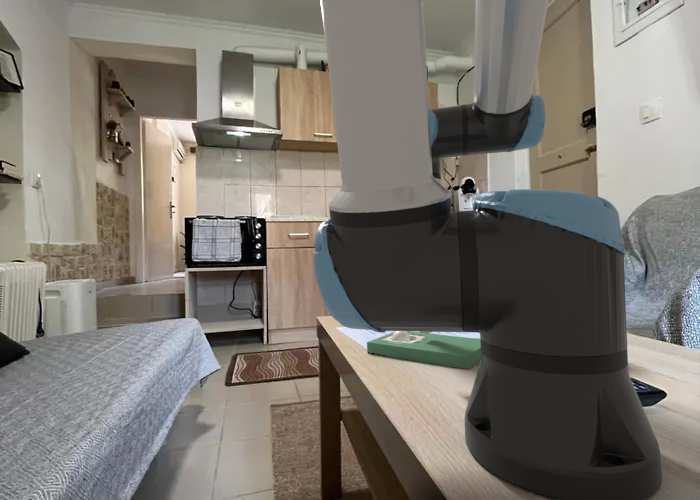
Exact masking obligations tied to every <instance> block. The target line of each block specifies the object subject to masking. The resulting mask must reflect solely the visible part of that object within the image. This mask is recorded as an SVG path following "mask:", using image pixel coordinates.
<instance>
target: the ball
mask: <svg viewBox="0 0 700 500" xmlns="http://www.w3.org/2000/svg"><path fill="white" fill-rule="evenodd" d="M393 332H394V333H393ZM393 332H392V333H393V335H392V340H394V341H410V336H409V334H408V333H407V332H406V331H393Z"/></svg>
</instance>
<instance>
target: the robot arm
mask: <svg viewBox="0 0 700 500" xmlns="http://www.w3.org/2000/svg"><path fill="white" fill-rule="evenodd" d="M319 1H320V7H321V9H320V10H321V16H322V26H323V35H324V41H325V49H326V50H325V51H326V58H327V59H326V60H327V68H328V76H329V83H330V92H331V101H332V109H333V117H334V127H335V135H336V136H335V137H336V143H337V151H338V161H339V170H340V176H341V177H340V178H341V185H340V189H339V190H338V191H337V193H336V194H335V195H334V197H333V198H332V199H331V201H330V202H329V203H328V209H329V217H328V218H327V219H326V220H325V221H324V220H323V222H321V224H319V225H318V228H317V229H316V232H315V234H314V240H313V247H314V250H315V253H314V254H313V268H314V269H313V270H314V275H315V278H316V284H317V287H318V291H319V294H320V297H321V299H322V302H323V305H324V306H325V308H326V310H327V312H328V314H329V315H330V316H331V317H332V318H333V319H334V320H335V321H336V322H338V323H339V324H340V325H341V326H343V327H345V328H349V329H352V330H354V329H355V330H369V331H372V332H374V333H386V332H395V331H411V332H420V333H421V334H429V333H430V334H432V333H435V332H436V333H477V334H478V333H479V339H480V344H481V360H480V361H479V362H480V363H479V365H478V369H477V373H476V375H475V379H474V383H473V386H472V388H471V393H470V395H469V399H468V402H467V404H466V405H467V406H466V409H465V413H464V440H465V445H466V446H467V447H466V448H467V449H468V451H469V453H470V454H471V455H472V456H473V457H474V459H475V460H476V461H477V462H478V463H480V465H481V466H483V467H484V468H486V469H487V470H488V471H490V472H491V473H493V474H495V475H496V476H497V477H500V478H501V479H503V480H505V481H506V482H509V483H511V484H513V485H515V486H517V487H520V488H523V489H525V490H527V491H531V492H533V493H536V494H538V495H542V496H546V497H550V498H553V499H558V500H645V499H648V498H649V497H650V496H652V495H654V494H655V493H656V492H657V491H658V490H659V489H660V487H661V484H662V482H663V481H662V480H663V478H662V477H663V476H662V473H663V472H662V456H661V455H662V454H661V453H662V452H661V450H660V446H659V443H658V440H657V437H656V435H655V434H654V433H655V432H654V430H653V429H652V425H651V423H650V421H649V419H648V416H647V413H646V411H645V409H644V407H643V405H642V402H641V400H640V397H639V395H638V393H637V390H636V388H635V385H634V383H633V381H632V379H631V376H630V372H629V371H630V370H629V356H628V332H627V331H628V329H627V328H628V327H627V308H626V307H627V306H626V284H625V283H626V282H625V281H626V280H625V277H626V275H625V257H626V255H627V250H626V248H625V246H624V244H623V237H622V229H621V221H620V214H619V211H618V209H617V208H616V207H615V205H613V203H611V202H610V201H608V199H606V198H603V197H601V196H598V195H593V194H589V193H584V192H578V191H569V190H559V189H557V190H556V189H554V190H553V189H533V188H532V189H527V188H526V189H524V188H523V189H508V190H507V191H506V190H499V191H497V190H495V191H494V190H492V191H488V192H482V193H480V194H478V195H477V196H475V198H474V202H473V203H472V209H471V210H461V211H460V210H455V211H454V210H452V206H451V205H452V201H451V191H449V190H448V189H447V188H446V187H445V186H444V185H442V175H441V174H442V172H441V168H442V167H441V159H448V158H456V157H457V158H458V157H465V156H475V155H484V154H485V155H486V154H495V153H496V154H497V153H511V152H516V151H519V150H520V151H522V150H526V149H531V148H532V149H533V148H534V147H537V146H538V145H539V144H540V143H541V141H542V139H543V136H544V134H545V133H544V132H545V121H546V105H545V101H544V99H543V97H542V96H541V95H540V94H533V90H534V84H535V79H536V74H537V67H538V63H539V57H540V51H541V48H542V47H541V45H542V41H543V34H544V30H545V23H546V16H547V11H548V7H549V2H550V0H475V20H474V21H475V22H474V23H475V25H474V26H475V27H474V28H475V29H474V31H475V32H474V62H473V63H474V66H473V67H474V68H473V74H474V75H473V102H472V103H467V104H461V105H451V106H447V107H446V106H445V107H439V108H432V109H431V108H430V106H429V105H430V103H429V87H428V86H429V85H428V83H429V82H428V67H427V48H426V31H425V14H424V13H425V10H424V0H319Z"/></svg>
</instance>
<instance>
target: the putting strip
mask: <svg viewBox="0 0 700 500" xmlns="http://www.w3.org/2000/svg"><path fill="white" fill-rule="evenodd" d="M394 332H395V331H392V332H391V333H387V334H385V335H382V336H379V337H377V338H374V339H372V340H370V341H367V342H366V347H367V348H366V351H367V352H369V353H368V354H370V353H375V354H374V355H377V354H380V355H379V356H383V355H386V356H385V357H389V356H390V357H389V358H395V359H396V358H397V359H403V360H408V361H416V362H421V363H425V364H427V363H428V364H434V365H438V366H439V365H441V366H445V367H454V368H459V369H465V370H471V368H472V367H474V366H475V365H476V364H477V363H478V362H480V361H481V344H480V338H475V337H474V338H473V337H466V336H457V335H447V334H437V333H429V334H421V333H420V331H406V332H407V333H408V334H409V336H410V341H394V340H392V335H393V333H394Z"/></svg>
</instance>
